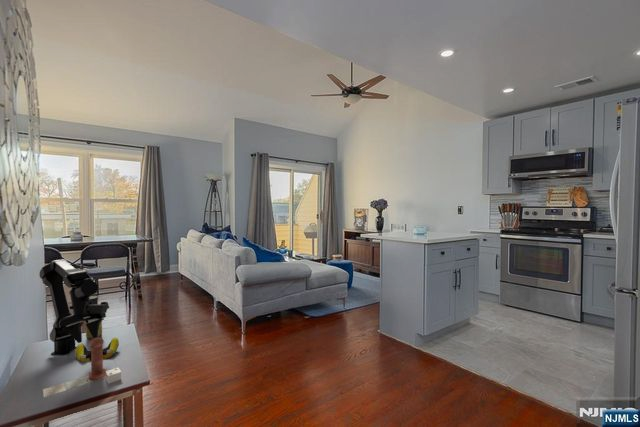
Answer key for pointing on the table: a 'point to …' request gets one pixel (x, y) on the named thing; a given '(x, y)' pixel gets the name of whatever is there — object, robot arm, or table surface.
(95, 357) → the pawn
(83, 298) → the robot arm
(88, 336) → the sauce bottle
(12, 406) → the table surface
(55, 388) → the game board
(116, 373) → the die
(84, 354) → the gaming controller
